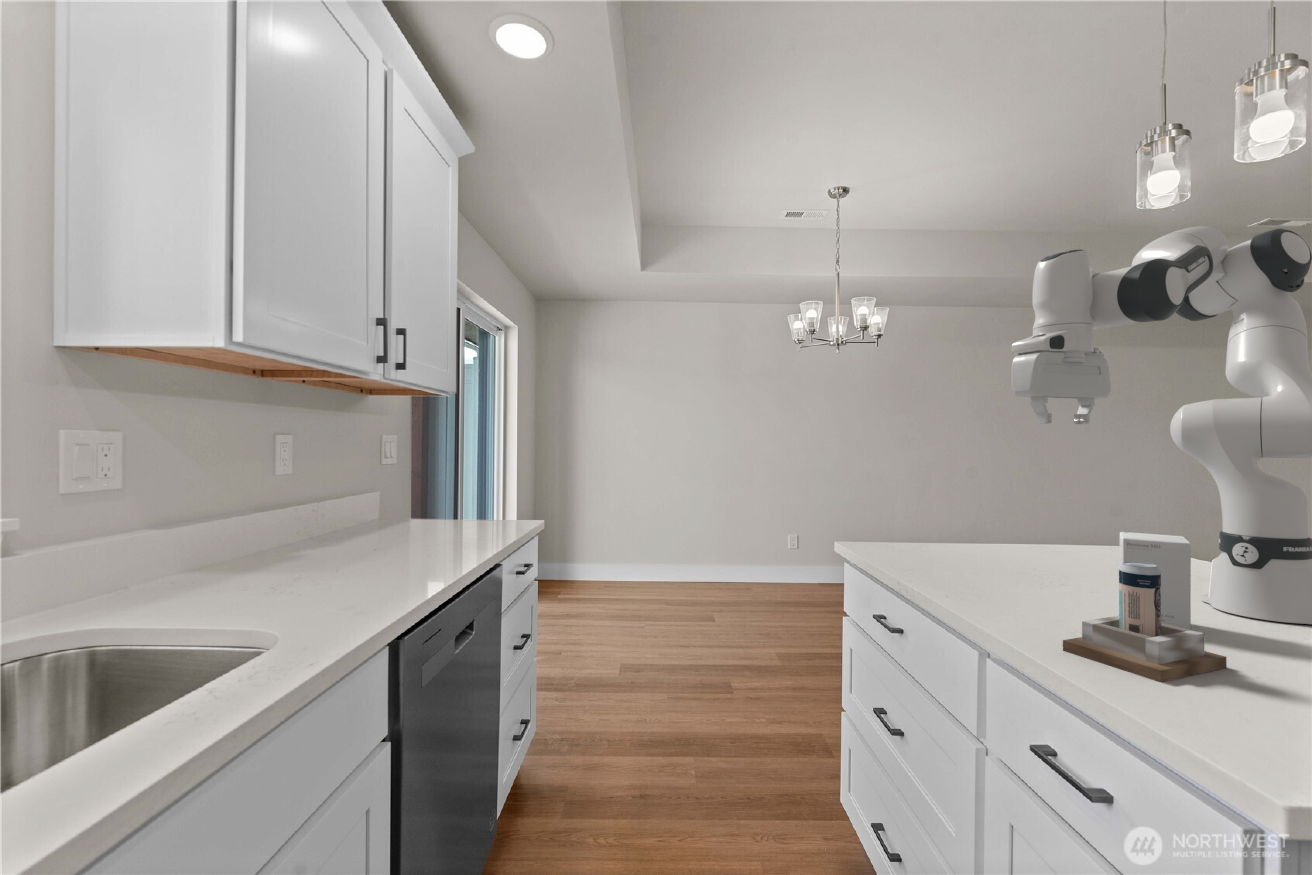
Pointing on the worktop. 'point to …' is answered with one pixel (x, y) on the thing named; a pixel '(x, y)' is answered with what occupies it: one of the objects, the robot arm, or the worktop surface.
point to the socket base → (1145, 650)
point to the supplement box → (1164, 571)
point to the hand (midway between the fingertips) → (1063, 424)
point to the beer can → (1140, 598)
